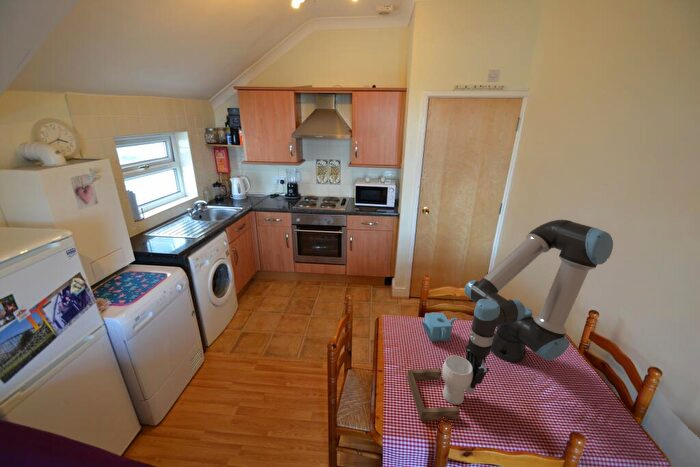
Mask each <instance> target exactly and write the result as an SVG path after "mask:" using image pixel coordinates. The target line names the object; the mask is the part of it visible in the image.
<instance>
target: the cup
mask: <svg viewBox="0 0 700 467" xmlns="http://www.w3.org/2000/svg"><path fill="white" fill-rule="evenodd" d="M441 371H442V373H441V375H442V378H443V381H444V387H443V389H442V390H443V391H442V395H443V399H444V400H446V401H447V402H448V403H450V404H451V405H461V404H462V403H463V402H464V399H465V391H466V390H465V389H466V388H467V387H468V386H469V385H470V383H471V382H472V378H473V368H472V365H471V364H470V362H469V361H468V360H466V357H462V356H460V355H450V356H448V357H446V358H445V360H444V363H443V365H442V370H441Z"/></svg>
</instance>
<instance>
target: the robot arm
mask: <svg viewBox="0 0 700 467" xmlns="http://www.w3.org/2000/svg"><path fill="white" fill-rule="evenodd" d="M551 249H556V250H559V251H560V253H559V255H558V257H559V259H560V261H561V263H560V265H559V268H558V270H557V272H556V275H555V276H554V279H553V282H552V284H551V287H550V289H549V291H548V292H547V296H546V299H545V301H544V303H543V305H542V309H541V311H540V313H539V315H535V316H533V311H532V309H531V308H530V307H527V306H525V305H524V304H523V303H522V301H520V300H519V299H515V298H511V299H507V298H505V297H503V296H502V295H501V294H499V292H500V291H501V290H502V289H504V287H506V286H507V285H508V284H509V283H510V282H511V281H512V280H514V279H515V278H516V277H517V276H518V275H519V274H520V273H521V272H522V271H524V269H526V268H527V267H528V266H529V265H530V264H532V262H534V261H535V260H536V259H537V258H538V257H540V255H541V254H543V253H547V252H549V251H550V250H551ZM613 249H614V241H613V237H612V236H611V234H610V233H609V232H607V231H604V230H602V229H599V228H598V227H594V226H591V225H587V224H586V225H585V224H582V223H578V222H574V221H572V220H568V219H555V220H550V221H548V222H545V223H543V224H541V225H538V226H537V227H535V228H534V229H532V230H531V231H530V232H528V234H527V235H526V237H525V239H524V241H522V243H521V244H519V245H518V246H517V247H516V248H515V249H514V250H513V251H511V252H509V253H510V254H508V255H507V256H506V257H505V258H503V259H502V261H500V262H499V263H498V264H497V265H496V266H495V267H494V268H492V269H491V271H489V272H488V273H487V274H486V275H484V277H482V278H481V279H480V280H476V279H472V280H469V281H467V283H466V284H465V286H464V288H463V289H464V294H465V295H466V297H468V298H469V299H470V300H471V301H472V302H474V303H475V304H476V305H475V308H474V310H473V318H472V323H471V328H470V333H469V338H468V342H467V345H465V350H466V351H465V353H466V355H465V359H466V360H468V361H469V362H470V364H471V365H472V368H473V378H472V382H471V383H470V385H469V386H468V387H467V388H466V389H465V390H464V391H465V392H466V393H467V394H474V393H475V389H476V386H477V385H481V383H482V382H483V380H484V379H485V376H486V375H487V373H489V372H490V369H489V367H487V366H486V363H487V357H488V356H489V355H490V353H493V355H495V356H496V357H498V358H499V359H501V360H504V361H506V362H510V363H520V362H522V361H524V360H525V358H526V355H527V351H526V347H527V348H528V349H529V350H530V351H532V352H534V353H535V354H536V355H537V356H539V357H541V358H542V359H543V360H546V361H553V360H556V359H558V358H559V357H561V356H562V355H563V354H564V353H565V352H566V351H567V349H568V348H569V345H570V340H569V339H568V338H567V337H566V335H567V328H566V327H565V325H566V323H567V321H568V318H569V316H570V313H571V312H572V309H573V306H574V305H575V302H576V299H577V298H578V295H579V293H580V291H581V289H582V286H583V285H584V283H585V280H586V279H587V275H588V273H589V271H590V270H594V269H596V268H597V266H598V265H603V264H604V263H606V262H607V261H608V259H609V258H610V257H611V255H612V252H613ZM495 331H496V332H495Z"/></svg>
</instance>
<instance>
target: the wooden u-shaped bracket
mask: <svg viewBox="0 0 700 467" xmlns="http://www.w3.org/2000/svg"><path fill="white" fill-rule="evenodd" d="M441 377H442V370H441V368H425V369H424V368H423V369H408V370H407V373H406V379H407V383H408V385H409V388H410V392H411V395H412V399H413V401H414V405H415V406H416V407H415V408H416V411H417V414H418V416H419V419H420V421H421V422H425V421H440V420H439V419H440V418H443V417H444V418H447V419H449V420H458V419H459V417H460V412H461V410H460V408H459V407H458V406H448V407H447V406H446V407H445V406H444V407H428V408H425V405H424V402H423V399H422V396H421V393H420V390H419V388H418V384H417V382H416V381H431V380H432V381H433V380H434V381H435V380H441V379H442V378H441Z"/></svg>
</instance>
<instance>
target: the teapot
mask: <svg viewBox="0 0 700 467" xmlns="http://www.w3.org/2000/svg"><path fill="white" fill-rule="evenodd" d="M457 320H458V317H452V318H451V319H450V320H449V319H448V318H447V316H446V315H445V314H444V312H431V313H425V314H424V321H421V322H420V324H422V326H423V328H424V332H425V333H426V334H427V336H428V338H429V340H430V342H433V343H434V342H446V341H447V342H450V341H451V335H452V329H453V324H454V323H455V321H457Z"/></svg>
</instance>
